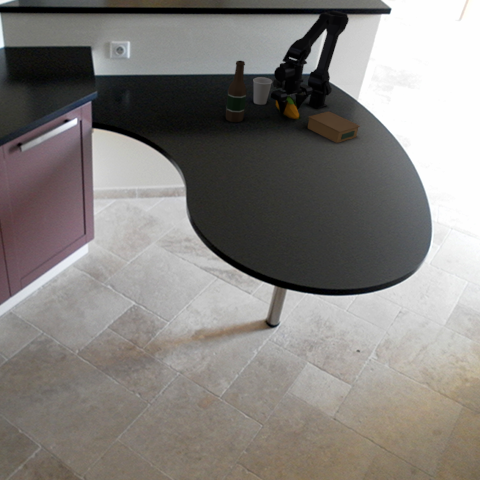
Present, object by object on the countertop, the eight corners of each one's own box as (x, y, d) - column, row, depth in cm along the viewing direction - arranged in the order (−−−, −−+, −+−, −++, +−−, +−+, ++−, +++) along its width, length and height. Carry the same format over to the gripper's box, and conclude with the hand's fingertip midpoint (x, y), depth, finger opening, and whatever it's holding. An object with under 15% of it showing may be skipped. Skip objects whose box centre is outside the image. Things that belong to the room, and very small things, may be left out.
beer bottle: (245, 117, 248) (253, 60, 234) (240, 124, 242) (247, 65, 228) (228, 113, 250) (234, 57, 237) (222, 120, 244) (228, 62, 231)
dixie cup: (272, 101, 264) (275, 79, 258) (264, 107, 258) (267, 85, 252) (255, 97, 267) (258, 75, 261) (247, 102, 261) (250, 80, 256)
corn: (288, 89, 254) (308, 106, 238) (287, 106, 259) (306, 124, 243) (272, 91, 253) (291, 109, 237) (271, 108, 257) (289, 126, 241)
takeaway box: (306, 128, 241) (308, 116, 238) (326, 122, 246) (328, 111, 243) (336, 143, 229) (339, 131, 227) (357, 137, 235) (360, 125, 232)
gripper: (297, 66, 250) (291, 102, 259) (264, 73, 241) (259, 110, 250) (316, 74, 242) (309, 110, 251) (282, 82, 234) (277, 119, 243)
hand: (288, 112), depth 249 cm, fingers closed on corn, 8 cm apart
